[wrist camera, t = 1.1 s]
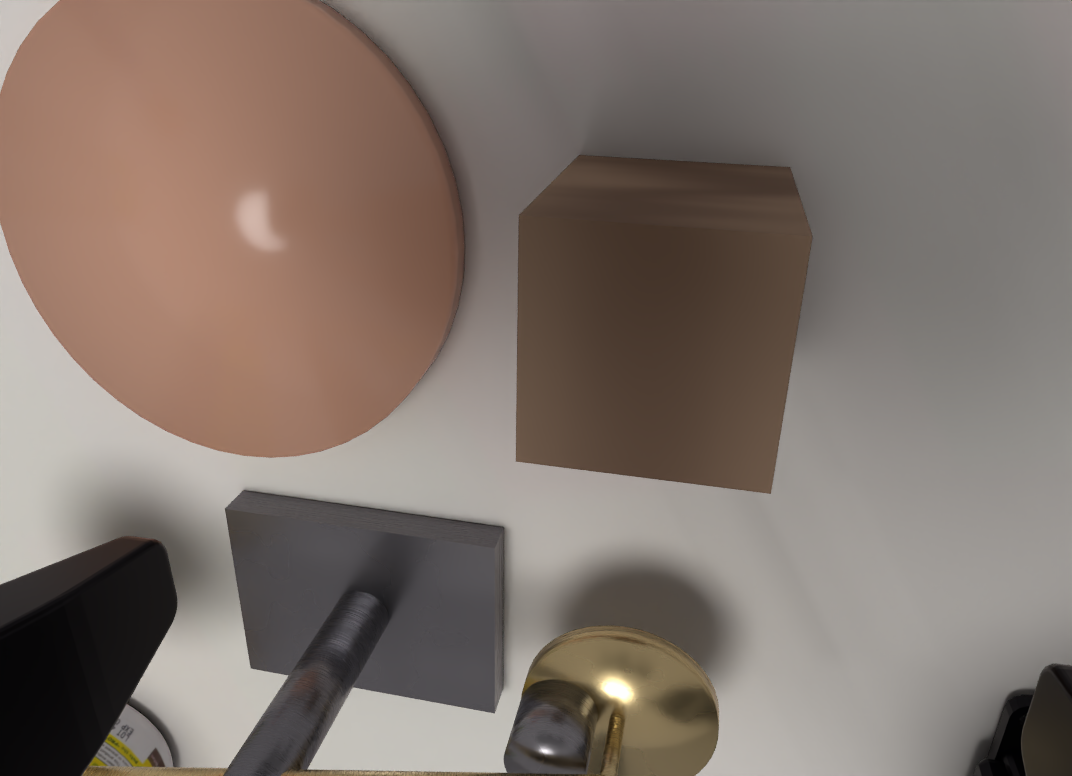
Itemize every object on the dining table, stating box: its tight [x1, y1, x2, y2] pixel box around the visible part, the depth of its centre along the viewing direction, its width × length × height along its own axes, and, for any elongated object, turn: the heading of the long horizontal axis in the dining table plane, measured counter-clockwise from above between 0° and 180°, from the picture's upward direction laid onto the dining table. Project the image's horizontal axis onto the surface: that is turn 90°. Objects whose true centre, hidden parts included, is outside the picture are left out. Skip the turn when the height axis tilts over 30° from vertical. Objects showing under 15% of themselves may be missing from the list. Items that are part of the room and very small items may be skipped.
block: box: [516, 155, 813, 494], centre depth 17 cm, size 5×5×6 cm
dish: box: [0, 0, 465, 458], centre depth 21 cm, size 12×12×1 cm
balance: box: [82, 491, 719, 776], centre depth 21 cm, size 21×6×10 cm, turn 89°
